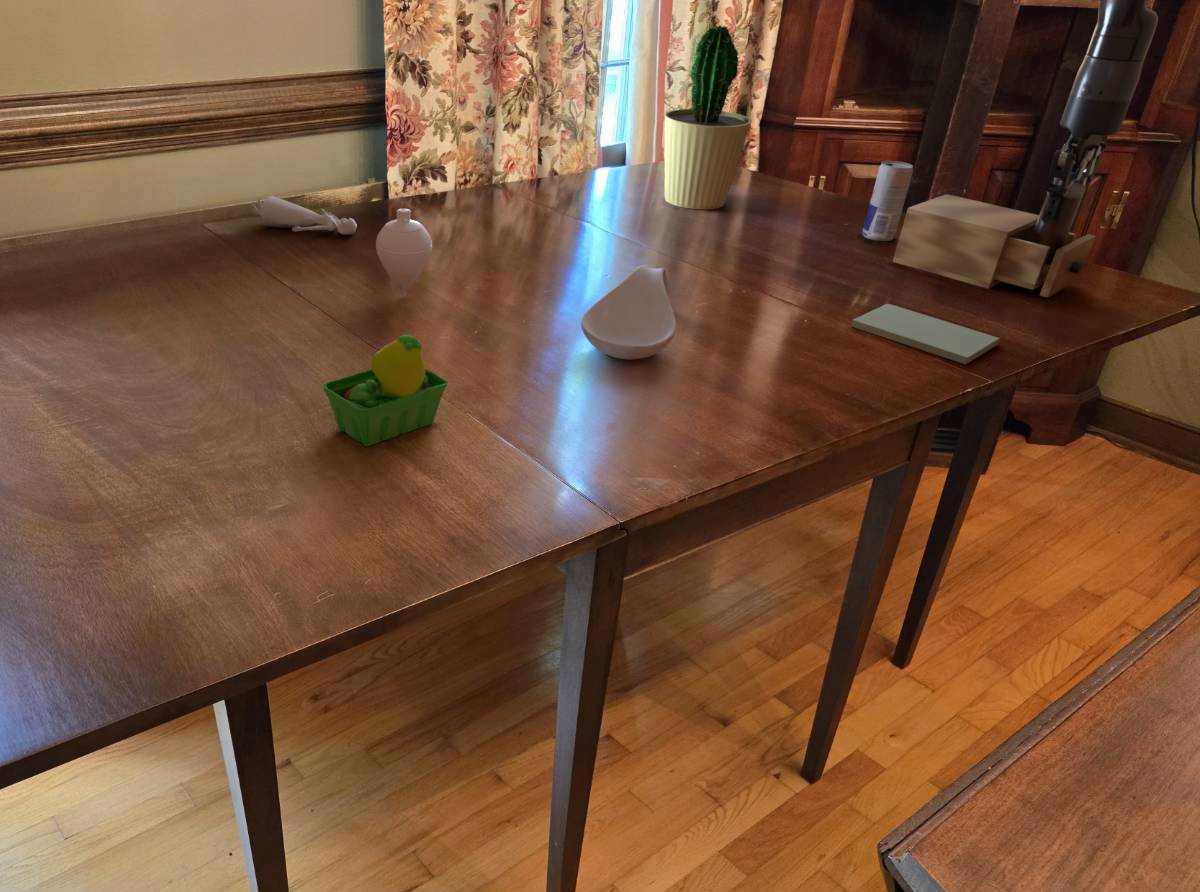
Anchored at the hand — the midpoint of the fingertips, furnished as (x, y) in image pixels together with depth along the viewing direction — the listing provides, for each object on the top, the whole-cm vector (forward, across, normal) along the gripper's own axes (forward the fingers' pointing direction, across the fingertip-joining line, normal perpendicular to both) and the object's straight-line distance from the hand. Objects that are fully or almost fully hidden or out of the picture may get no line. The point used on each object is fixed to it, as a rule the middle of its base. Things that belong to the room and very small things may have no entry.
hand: (1056, 218), depth 142 cm
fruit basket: (+10, -105, +26) cm, 109 cm away
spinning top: (+10, -79, +55) cm, 97 cm away
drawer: (+9, 0, +2) cm, 10 cm away
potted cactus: (+10, -4, +61) cm, 62 cm away
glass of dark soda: (+6, 0, 0) cm, 6 cm away
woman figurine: (+10, -72, +89) cm, 115 cm away
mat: (+10, -33, +2) cm, 35 cm away
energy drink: (+10, +4, +28) cm, 30 cm away
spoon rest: (+10, -64, +26) cm, 70 cm away
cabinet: (+10, 0, +12) cm, 15 cm away
